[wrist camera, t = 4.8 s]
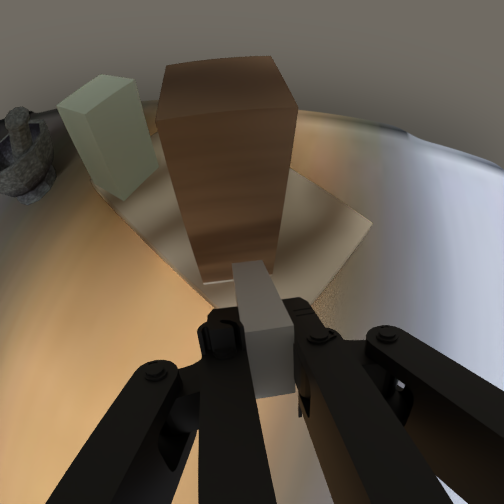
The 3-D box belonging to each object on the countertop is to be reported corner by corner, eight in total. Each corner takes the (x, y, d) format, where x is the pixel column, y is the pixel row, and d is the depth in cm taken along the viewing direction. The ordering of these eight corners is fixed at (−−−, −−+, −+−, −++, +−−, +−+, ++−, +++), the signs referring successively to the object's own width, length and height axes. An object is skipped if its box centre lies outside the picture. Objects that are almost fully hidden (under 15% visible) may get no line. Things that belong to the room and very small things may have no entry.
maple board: (94, 189, 28) (89, 179, 27) (190, 122, 33) (189, 112, 32) (268, 354, 20) (270, 350, 19) (367, 232, 26) (373, 223, 24)
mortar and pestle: (-1, 208, 27) (-48, 145, 17) (38, 155, 32) (3, 91, 21) (44, 226, 26) (-15, 147, 15) (89, 163, 30) (52, 81, 20)
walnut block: (272, 276, 22) (298, 107, 9) (203, 284, 21) (155, 121, 9) (261, 220, 24) (270, 55, 12) (199, 227, 24) (166, 65, 11)
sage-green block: (94, 183, 26) (56, 105, 18) (127, 152, 28) (100, 74, 20) (124, 201, 25) (84, 114, 16) (159, 166, 27) (135, 79, 18)
